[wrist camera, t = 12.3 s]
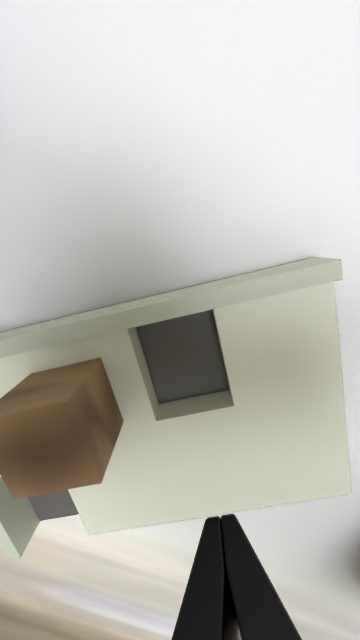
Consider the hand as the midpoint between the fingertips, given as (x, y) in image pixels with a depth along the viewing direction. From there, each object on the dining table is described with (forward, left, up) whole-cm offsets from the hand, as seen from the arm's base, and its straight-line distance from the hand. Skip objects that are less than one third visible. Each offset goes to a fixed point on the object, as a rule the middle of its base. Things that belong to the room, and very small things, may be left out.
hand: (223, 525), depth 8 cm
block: (+1, +8, -8) cm, 12 cm away
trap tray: (-3, +5, -10) cm, 12 cm away
